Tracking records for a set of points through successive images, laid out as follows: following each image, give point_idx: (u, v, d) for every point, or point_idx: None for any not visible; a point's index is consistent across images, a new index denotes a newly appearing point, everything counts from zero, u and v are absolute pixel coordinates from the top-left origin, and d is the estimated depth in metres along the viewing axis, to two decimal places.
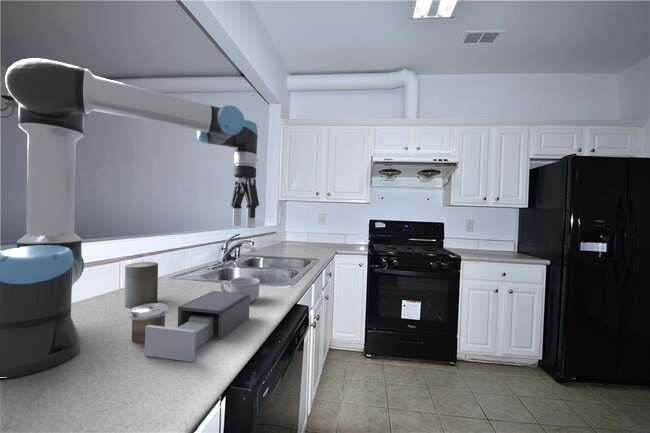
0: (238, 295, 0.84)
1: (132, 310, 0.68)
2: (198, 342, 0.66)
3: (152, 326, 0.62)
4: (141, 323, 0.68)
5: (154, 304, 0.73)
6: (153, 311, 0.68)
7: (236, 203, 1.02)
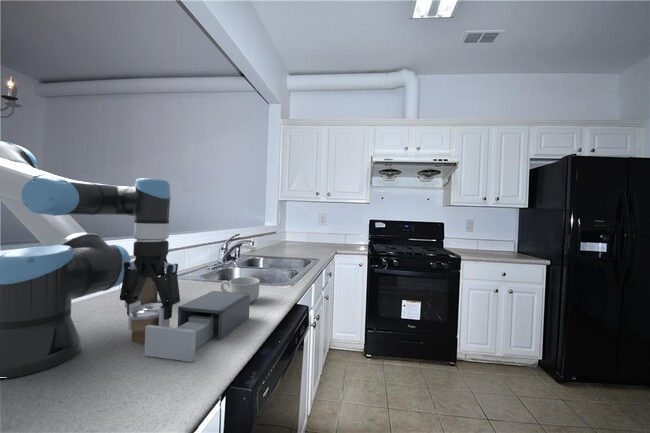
0: (238, 295, 0.84)
1: (132, 310, 0.68)
2: (198, 342, 0.66)
3: (152, 326, 0.62)
4: (141, 323, 0.68)
5: (154, 304, 0.73)
6: (153, 311, 0.68)
7: (134, 294, 0.70)
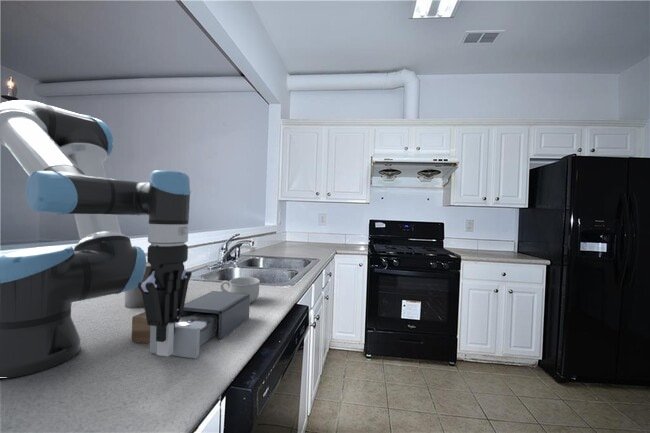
0: (238, 295, 0.84)
1: None
2: (202, 339, 0.68)
3: None
4: (141, 323, 0.68)
5: (194, 317, 0.70)
6: (196, 324, 0.66)
7: None
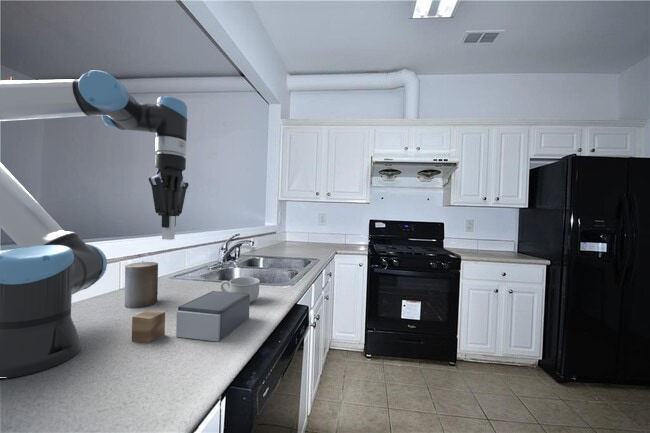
0: (238, 295, 0.84)
1: None
2: None
3: (182, 311, 0.72)
4: (141, 323, 0.68)
5: None
6: None
7: None
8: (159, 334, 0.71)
